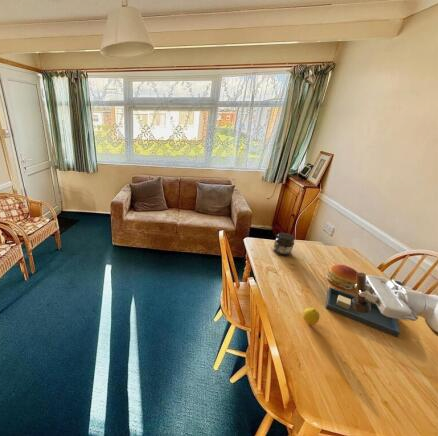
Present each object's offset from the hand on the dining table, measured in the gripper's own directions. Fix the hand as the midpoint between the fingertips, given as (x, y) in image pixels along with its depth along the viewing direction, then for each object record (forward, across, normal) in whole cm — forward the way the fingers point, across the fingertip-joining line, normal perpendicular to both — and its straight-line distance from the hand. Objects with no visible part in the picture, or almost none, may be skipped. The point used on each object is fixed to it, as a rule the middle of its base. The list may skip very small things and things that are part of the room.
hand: (357, 289), depth 88 cm
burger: (-8, +33, -20) cm, 39 cm away
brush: (-4, 0, -8) cm, 9 cm away
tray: (-10, +13, -20) cm, 26 cm away
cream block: (-4, +14, -20) cm, 25 cm away
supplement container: (+18, +53, -20) cm, 60 cm away
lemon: (+12, -3, -21) cm, 24 cm away
